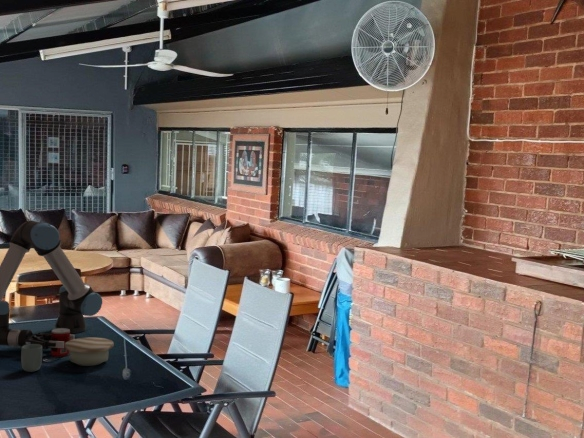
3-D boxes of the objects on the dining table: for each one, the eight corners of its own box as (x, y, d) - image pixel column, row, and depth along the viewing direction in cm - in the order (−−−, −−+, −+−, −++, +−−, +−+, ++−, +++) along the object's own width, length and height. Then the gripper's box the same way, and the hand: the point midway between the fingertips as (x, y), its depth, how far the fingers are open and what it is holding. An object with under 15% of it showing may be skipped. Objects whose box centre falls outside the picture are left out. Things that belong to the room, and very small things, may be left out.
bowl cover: (75, 338, 295) (75, 336, 295) (119, 341, 294) (119, 339, 294) (57, 350, 275) (57, 348, 275) (104, 354, 274) (104, 351, 274)
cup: (34, 374, 265) (35, 349, 265) (17, 372, 267) (17, 347, 266) (45, 368, 273) (46, 345, 272) (28, 366, 274) (29, 343, 274)
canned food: (72, 352, 297) (72, 328, 296) (64, 357, 289) (65, 333, 289) (55, 351, 298) (56, 327, 297) (47, 356, 290) (48, 331, 289)
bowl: (77, 355, 293) (78, 340, 293) (113, 358, 292) (113, 342, 292) (63, 366, 277) (63, 350, 277) (100, 368, 276) (101, 352, 276)
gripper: (32, 339, 306) (78, 342, 305) (7, 353, 283) (58, 357, 282) (32, 323, 306) (79, 326, 304) (8, 336, 282) (58, 339, 281)
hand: (69, 341), depth 293 cm, fingers open, 11 cm apart
